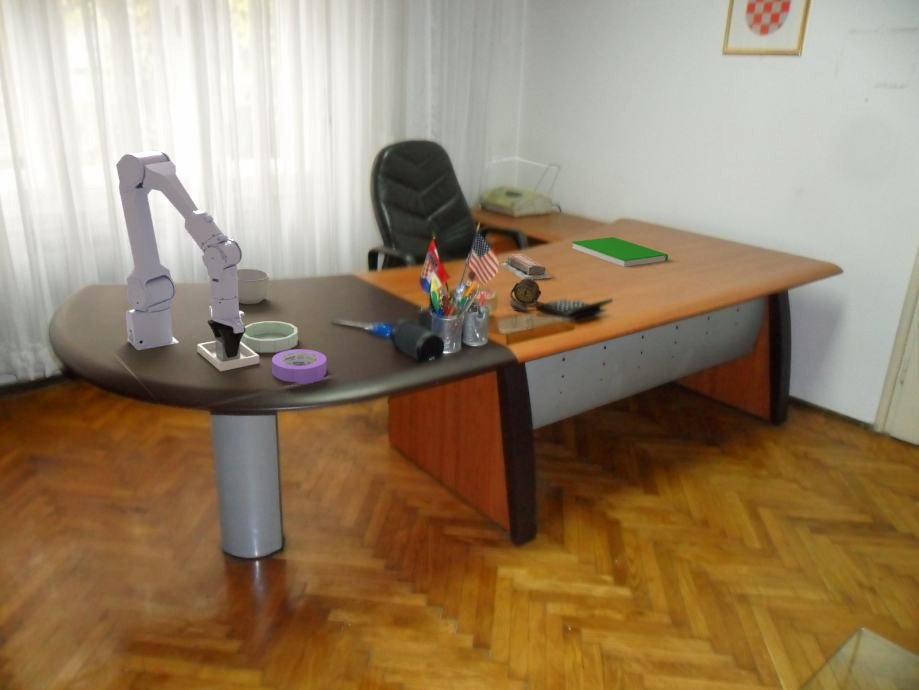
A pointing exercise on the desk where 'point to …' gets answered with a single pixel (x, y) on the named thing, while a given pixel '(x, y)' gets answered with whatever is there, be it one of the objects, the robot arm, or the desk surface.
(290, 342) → the bowl
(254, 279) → the teacup
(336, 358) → the desk surface
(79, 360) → the desk surface
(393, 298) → the desk surface
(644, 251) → the book
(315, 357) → the masking tape
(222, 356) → the grey cube
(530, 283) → the brown desk clock
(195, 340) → the desk surface
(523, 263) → the packaged product
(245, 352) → the parts tray
